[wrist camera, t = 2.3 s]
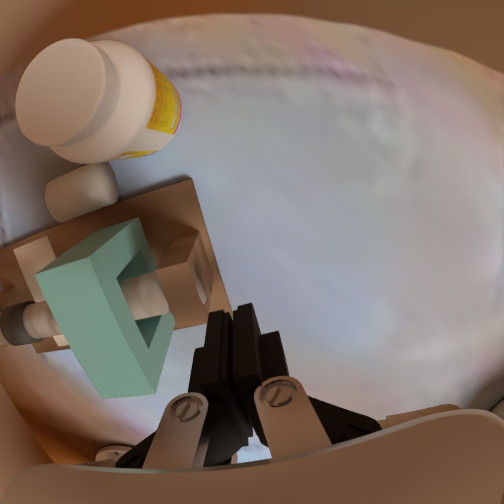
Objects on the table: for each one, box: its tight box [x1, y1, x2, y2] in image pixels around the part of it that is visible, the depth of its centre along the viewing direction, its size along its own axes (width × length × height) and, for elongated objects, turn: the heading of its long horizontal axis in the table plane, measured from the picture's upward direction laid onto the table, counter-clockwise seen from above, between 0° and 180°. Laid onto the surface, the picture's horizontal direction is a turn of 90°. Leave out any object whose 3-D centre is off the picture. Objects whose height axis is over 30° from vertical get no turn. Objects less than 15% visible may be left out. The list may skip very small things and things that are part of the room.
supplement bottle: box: [15, 38, 183, 164], centre depth 15 cm, size 7×7×13 cm
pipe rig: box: [0, 179, 233, 354], centre depth 22 cm, size 12×23×8 cm, turn 104°
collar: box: [35, 217, 176, 399], centre depth 19 cm, size 9×4×9 cm, turn 14°
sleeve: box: [45, 161, 118, 223], centre depth 21 cm, size 4×5×4 cm
